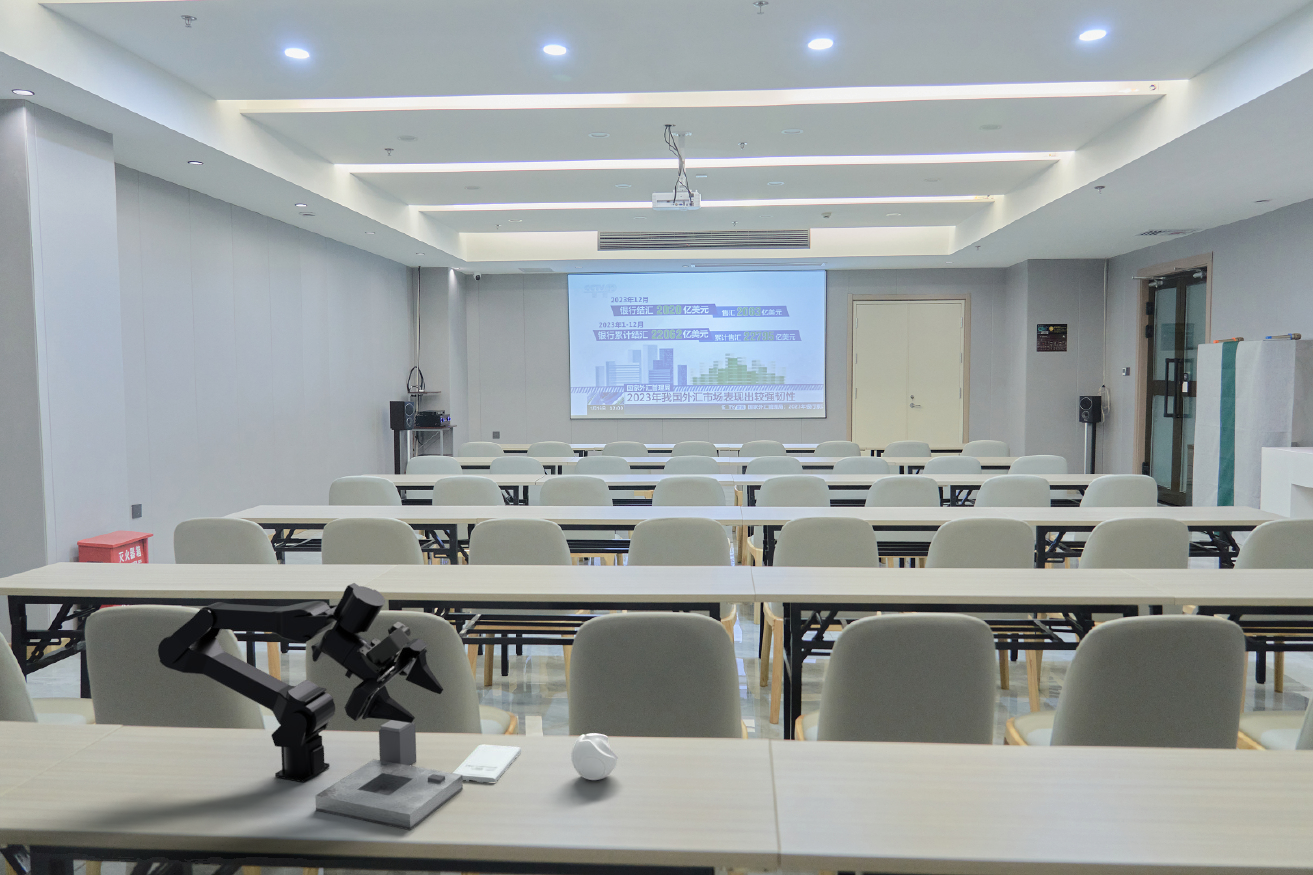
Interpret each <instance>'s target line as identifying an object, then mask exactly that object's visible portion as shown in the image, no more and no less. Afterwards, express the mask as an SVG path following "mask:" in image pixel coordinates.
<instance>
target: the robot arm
mask: <svg viewBox="0 0 1313 875" xmlns="http://www.w3.org/2000/svg"><path fill="white" fill-rule="evenodd" d="M385 604H386V598H385V597H384V595H383V594H382V593H381V592H379V591H378V590H377V589H373V588H370V587H367V586H361V585H359V584H356V583H355V582H353V583H351V584H348V585H347V586H346V588H345V589H344V591H343V595H342V597H341V599H340V600H339V602H338V604H333V605H332V604H329V605H328V603H327V602H326V601H323V600H315V601H314V600H313V601H306V602H301V603H295V604H291V605H286V606H285V605H284V606H275V605H273V606H272V605H256V604H237V603H226V602H221V601H218V602H215V603H211V604H208V605H207V606H204V607H202V608H200V609H199V610H198V611H197V612H196V613H195V614H194V616H192V617H191V619H189V620H188V621H187V622H186V623H184V624H183V625H182V626H181V627H179V628H178V629H177V630H175V631H174V632H173V633H172V634H171V635H169V636H167V637H164V638H163V639H161V641H160V643H159V645H158V648H157V654H158V658H159V662H160V664H161V665H162V666H164V667H165V668H167V669H169V670H172V671H174V672H175V671H176V672H178V673H182V674H192V675H193V674H195V675H203V676H206V677H207V678H209V679H211V680H213V681H215V682H217V683H219V684H221V685H222V686H224V687H226V688H229V689H230V690H232V691H234V692H236V693H238V694H239V695H242V696H243V697H245V698H247V699H248V700H250V701H253V702H255V703H256V704H259V705H260V706H263V707H264V708H267V709H268V710H270V711H271V712H272V713H273V715H274V718H275V719H276V721H277V723H278V724H279V727H277V728H276V730H274V731H273V732H272V733H271V739H272V741H273V745H274V747H277V748H279V747H280V748H281V749H280V750H281V753H280V754H281V770H279V771H276V772H275V774H274V776H275V777H276V778H281V779H286V780H291V781H292V780H293V781H297V782H302V783H303V782H307V781H308V780H310V779H311V778H313V777H315V776H317V775H318V774H320V773H323V771H325V770H327V769H328V768H330V765H331V764H330V763H328V762H325V746H324V745H323V735H320V733H322V732H323V731H325V730H326V729H328V725H329V722H330V721H331V720H332V719H333V717H334V716H335V714H336V703H335V702H334V697H333V696H332V695H331V694H329V693H328V692H326V691H327V688H326V687H321V686H318V685H317V684H315V683H314V682H312V681H311V680H308V679H305V680H303V681H302V682H300V683H298V684H296V685H290V684H288V683H286V682H284V681H282V680H280V679H278V678H277V677H274V676H273V675H270V674H268V673H267V672H265V671H263V670H261V669H259V668H257V667H255V666H253V665H251V664H249V663H248V662H246V661H244V660H242V659H240V658H238V657H236V656H235V655H233V654H230V653H228V652H226V651H225V650H224V649H223V648H222V647H221V644H220V643H219V640H218V639H217V637H218V636H220V634H221V632H222V630H229V631H230V630H231V631H246V632H261V633H262V632H263V633H272V634H275V635H278V636H279V637H281V638H282V639H285V640H288V641H293V642H296V643H306V642H309V641H311V640H313V639H315V638H317V637H319V636H321V635H323V636H322V637H321V638H320V641H318V642H316V643H314V644H313V645H311V647H310V648H311V650H312V654H311V657H312V662H318V661H320V660H321V659H323V658H326V657H328V658H330V659H331V660H333V661H334V662H336V664H338V665H339V666H341V667H342V668H344V670H346V672H345V674H344V676H345V677H346V678H348V679H351V678H353V677H354V676H355V678H358V679H359V680H360V681H361V682H360V683H358V684H357V686H355V687H354V688H353V690H352V691H351V693H350V696H349V698H348V699H347V702H346V704H345V706H344V711H345V714H346V716H348V718H351V719H352V720H353V721H354V722H357V721H358V720H359V719H360V718H361V719H362V720H364V721H365V720H366V719H377V720H379V719H380V720H388V721H390V720H394V721H401V722H408V723H412V722H413V721H414V720H415V719H416V717H415V716H414V715H413V714H412V713H411V712H410V711H409V710H407V708H405V707H404V706H403V705H401V704H400V703H399V702H398V701H396V700H395V698H394V699H393V698H392V697H391V696H390V694H389V691H388V689H387V687H386V686H387V685H388V684H389V683H390V682H392V681H393V680H394V678H396V677H397V676H398V675H399V676H403V677H405V676H406V678H404V679H405V681H407V682H409V683H411V684H413V685H416V686H419V687H420V688H422V689H425V690H427V691H429V692H432V693H436V694H438V695H441V694H443V691H444V688H443V686H442V684H441V683H440V681H439V680H438V679H437V678H436V676H435V675H434V673H433V671H432V670H431V668H430V667H429V665H428V662H427V654H428V650H427V648H428V647H429V644H428V643H427V642H426V641H424V640H423V639H421V638H419V637H418V638H413V639H412V640H411V638H410V636H411V633H412V632H411V630H410V627H408V625H405V624H404V623H402V622H401V621H399V620H398V621H397V622H395V623H394V624H393V625H392V626H390V627H389V628H388V629H387V632H388V635H387V636H386V637H385V638H384V639H382V640H380V639H378V638H372V639H371V640H367V639H366V638H365V637H363V636H362V635H361V633H366V632H368V631H370V630H371V627H372V625H373V624H374V623H375V621H376V619H377V617H378V616H379V614H380V612H381V610H382V609H383V607H384V606H385ZM331 628H332V629H331Z"/></svg>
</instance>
